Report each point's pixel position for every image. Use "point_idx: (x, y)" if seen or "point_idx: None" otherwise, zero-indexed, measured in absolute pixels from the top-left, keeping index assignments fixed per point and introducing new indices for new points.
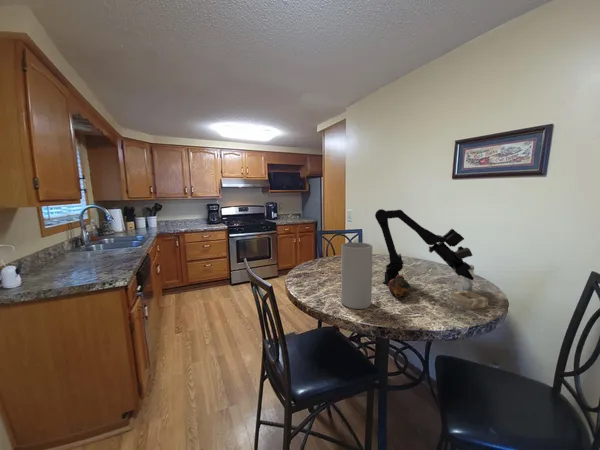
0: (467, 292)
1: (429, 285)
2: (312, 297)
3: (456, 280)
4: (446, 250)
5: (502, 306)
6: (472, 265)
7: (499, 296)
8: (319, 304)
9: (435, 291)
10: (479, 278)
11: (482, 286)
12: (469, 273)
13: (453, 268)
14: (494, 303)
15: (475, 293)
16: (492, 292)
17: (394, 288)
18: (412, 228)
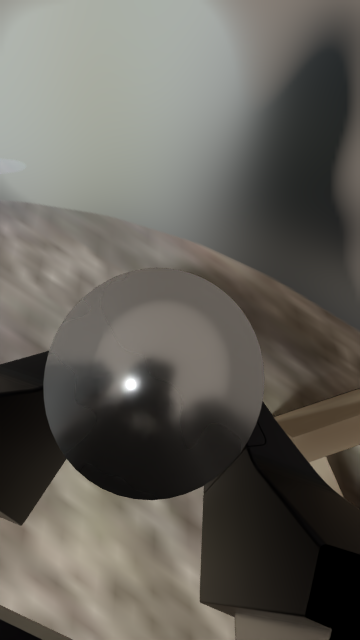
0: (325, 462)
1: (62, 555)
2: None
3: (15, 317)
4: None
5: (339, 319)
6: (163, 285)
7: (227, 260)
8: None
9: (174, 576)
10: (15, 202)
11: (112, 251)
12: (260, 410)
13: (7, 518)
14: (312, 330)
15: (345, 422)
16: (184, 257)
17: None
18: None
